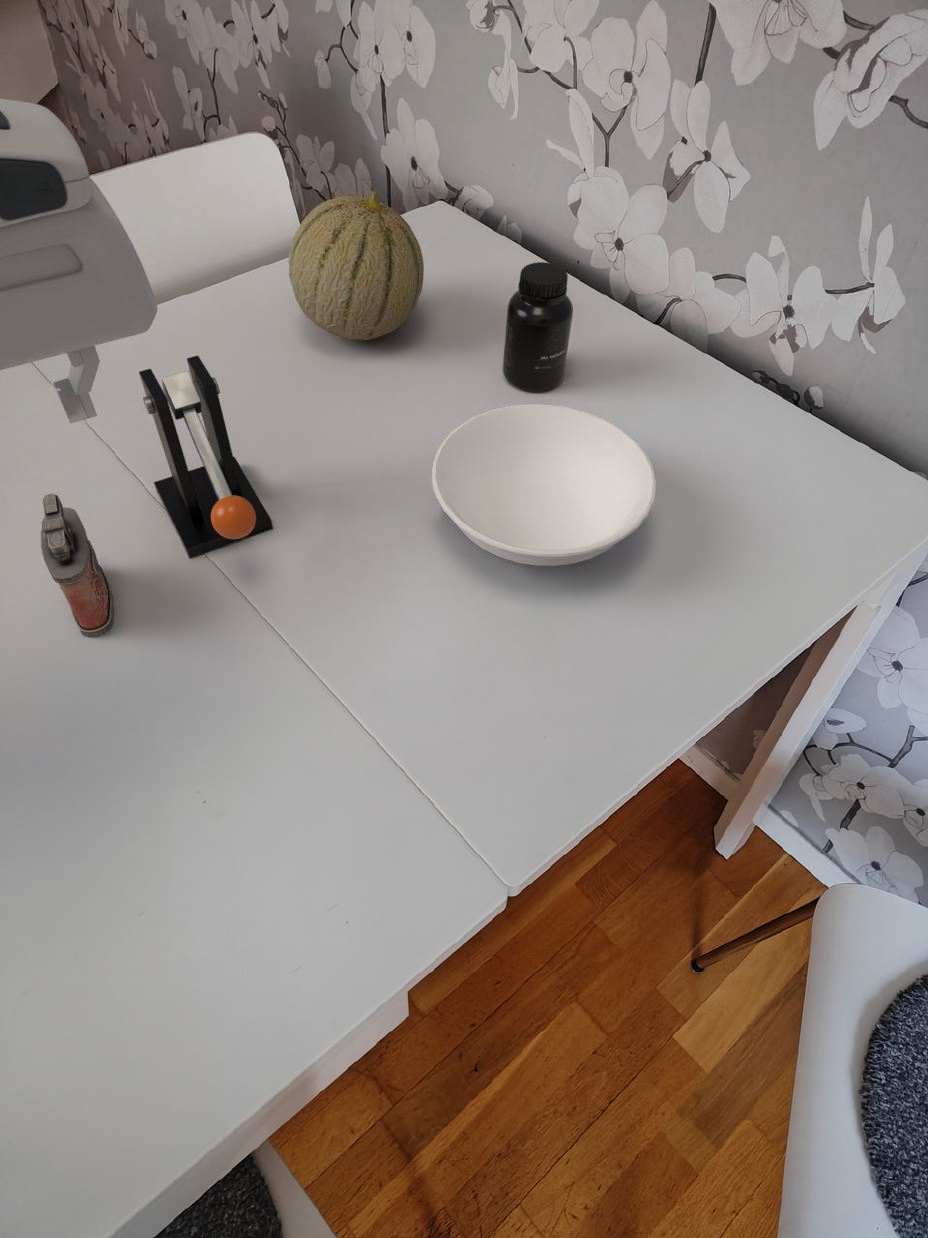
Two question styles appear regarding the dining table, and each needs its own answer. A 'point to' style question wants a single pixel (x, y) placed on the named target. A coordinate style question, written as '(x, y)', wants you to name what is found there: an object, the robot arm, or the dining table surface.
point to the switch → (209, 460)
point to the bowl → (543, 483)
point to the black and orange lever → (192, 490)
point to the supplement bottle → (538, 328)
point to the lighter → (76, 568)
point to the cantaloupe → (356, 267)
